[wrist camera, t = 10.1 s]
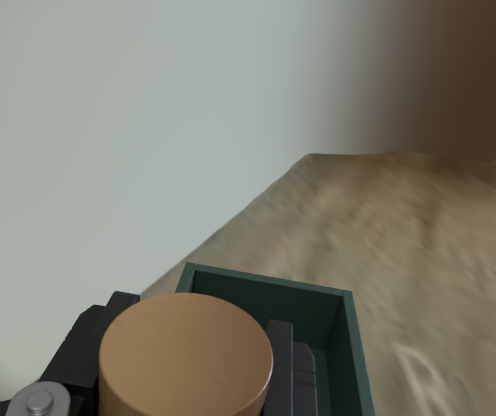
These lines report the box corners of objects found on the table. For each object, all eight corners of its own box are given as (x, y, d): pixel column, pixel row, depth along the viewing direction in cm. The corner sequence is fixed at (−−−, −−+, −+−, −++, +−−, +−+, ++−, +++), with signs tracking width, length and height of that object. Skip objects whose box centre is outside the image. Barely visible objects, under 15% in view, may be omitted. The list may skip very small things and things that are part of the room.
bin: (124, 494, 25) (127, 417, 22) (179, 325, 37) (186, 261, 34) (352, 536, 25) (386, 463, 22) (332, 352, 37) (352, 290, 34)
